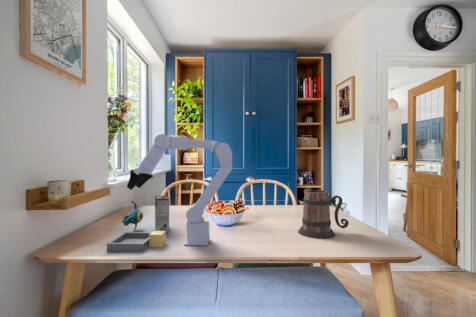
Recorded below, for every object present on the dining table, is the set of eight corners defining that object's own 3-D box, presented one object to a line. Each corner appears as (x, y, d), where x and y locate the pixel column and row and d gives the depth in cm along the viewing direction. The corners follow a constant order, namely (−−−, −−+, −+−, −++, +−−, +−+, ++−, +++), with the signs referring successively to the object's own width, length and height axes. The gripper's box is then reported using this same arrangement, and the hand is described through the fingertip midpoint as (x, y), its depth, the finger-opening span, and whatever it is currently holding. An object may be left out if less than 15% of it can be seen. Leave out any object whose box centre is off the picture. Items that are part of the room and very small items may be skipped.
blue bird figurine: (139, 235, 115) (127, 234, 116) (148, 213, 124) (137, 212, 124) (127, 222, 106) (115, 221, 107) (138, 199, 114) (126, 198, 115)
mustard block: (165, 242, 100) (165, 230, 100) (161, 247, 95) (161, 234, 95) (153, 242, 101) (153, 230, 101) (149, 247, 96) (149, 234, 96)
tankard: (303, 239, 105) (304, 193, 105) (293, 227, 122) (294, 188, 121) (356, 238, 105) (357, 193, 105) (339, 227, 122) (339, 188, 122)
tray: (156, 238, 105) (156, 232, 105) (143, 251, 91) (143, 243, 91) (124, 238, 105) (124, 232, 105) (106, 250, 91) (106, 243, 91)
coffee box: (154, 227, 121) (154, 196, 121) (168, 226, 124) (168, 195, 123) (155, 233, 113) (155, 199, 113) (169, 231, 115) (169, 198, 115)
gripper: (150, 155, 107) (133, 181, 107) (135, 153, 93) (116, 183, 92) (163, 164, 107) (146, 189, 107) (150, 163, 92) (131, 193, 92)
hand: (133, 187), depth 99 cm, fingers open, 7 cm apart
